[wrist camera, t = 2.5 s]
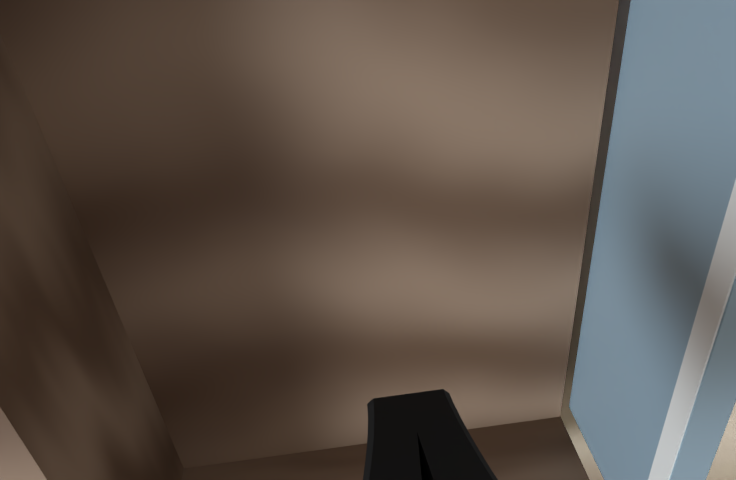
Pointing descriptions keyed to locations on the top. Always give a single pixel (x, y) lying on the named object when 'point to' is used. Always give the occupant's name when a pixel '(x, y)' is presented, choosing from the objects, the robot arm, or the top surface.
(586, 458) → the top surface
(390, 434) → the robot arm
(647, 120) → the tailgate
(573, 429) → the top surface
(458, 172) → the cart bed
